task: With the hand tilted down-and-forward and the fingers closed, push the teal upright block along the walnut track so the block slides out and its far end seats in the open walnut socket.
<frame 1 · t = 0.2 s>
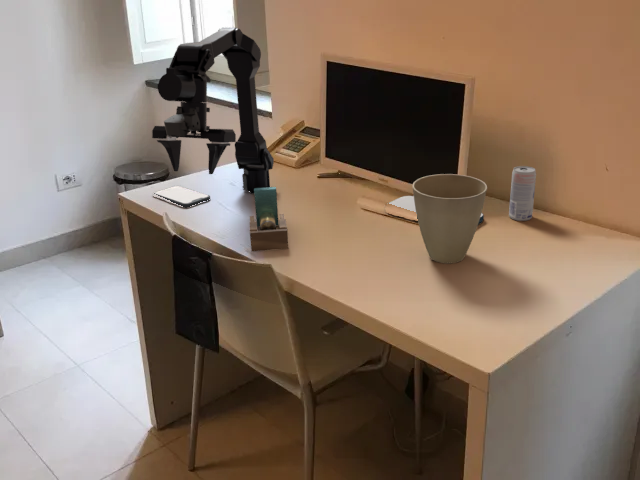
hand: (193, 172, 154), 15 cm above the table, tool pointing down, fingers open, 9 cm apart
energy drink: (520, 218, 164), on the table
walnut track with socket: (268, 233, 160), on the table
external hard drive: (433, 218, 167), on the table
teal upright block: (266, 211, 159), point 5 cm above the table, slide at 0.0 cm
phone case: (181, 200, 185), on the table
plant pot: (446, 257, 145), on the table
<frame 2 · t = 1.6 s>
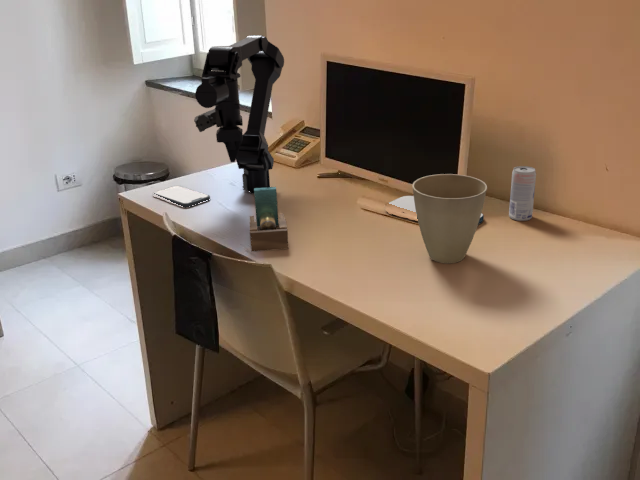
hand: (232, 160, 174), 12 cm above the table, tool pointing down, fingers closed
nothing on the table moved.
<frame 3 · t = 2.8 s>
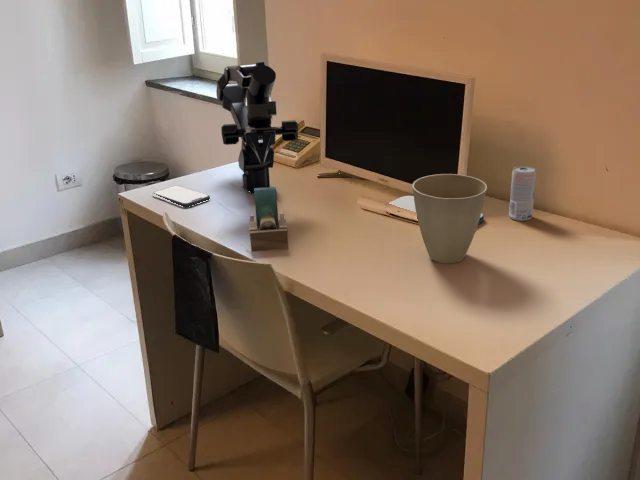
hand: (262, 162, 166), 13 cm above the table, tool tilted 45°, fingers closed
nothing on the table moved.
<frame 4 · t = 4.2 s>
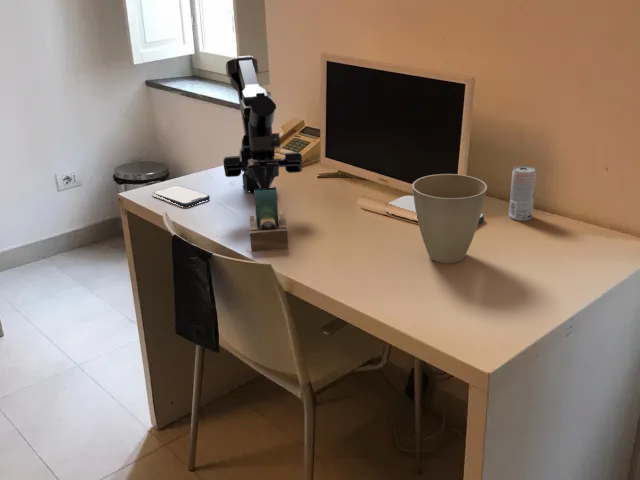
hand: (265, 196, 162), 7 cm above the table, tool tilted 45°, fingers closed, pressing on teal upright block
teal upright block: (266, 212, 159), point 5 cm above the table, slide at 0.3 cm, touching gripper
everything else where it was.
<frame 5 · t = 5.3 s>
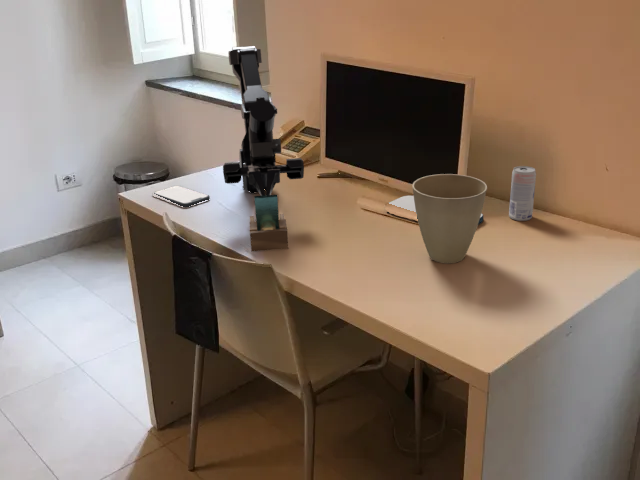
hand: (266, 203, 157), 7 cm above the table, tool tilted 45°, fingers closed, pressing on teal upright block
teal upright block: (267, 220, 154), point 5 cm above the table, slide at 5.5 cm, touching gripper
everything else where it was.
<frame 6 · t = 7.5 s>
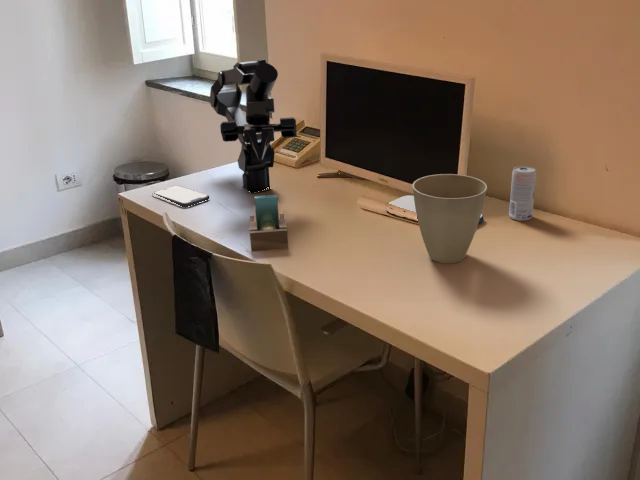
hand: (260, 159, 168), 14 cm above the table, tool tilted 45°, fingers closed
teal upright block: (267, 220, 154), point 5 cm above the table, slide at 5.6 cm
everything else where it was.
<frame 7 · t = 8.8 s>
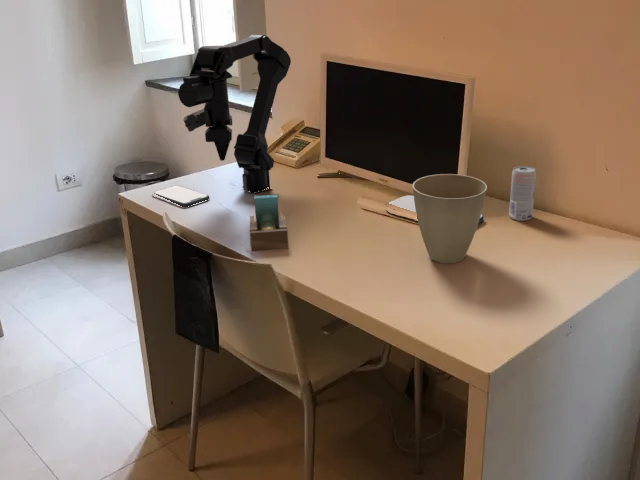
hand: (222, 160, 174), 12 cm above the table, tool pointing down, fingers closed
nothing on the table moved.
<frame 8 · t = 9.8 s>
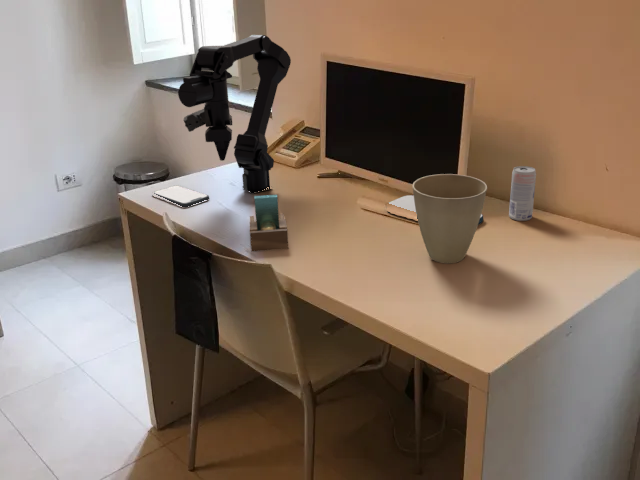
hand: (222, 160, 174), 12 cm above the table, tool pointing down, fingers closed
nothing on the table moved.
at the end: teal upright block slide at 5.6 cm; the gripper is holding nothing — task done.
